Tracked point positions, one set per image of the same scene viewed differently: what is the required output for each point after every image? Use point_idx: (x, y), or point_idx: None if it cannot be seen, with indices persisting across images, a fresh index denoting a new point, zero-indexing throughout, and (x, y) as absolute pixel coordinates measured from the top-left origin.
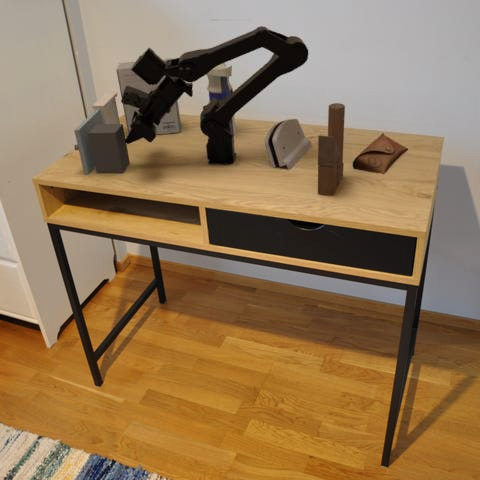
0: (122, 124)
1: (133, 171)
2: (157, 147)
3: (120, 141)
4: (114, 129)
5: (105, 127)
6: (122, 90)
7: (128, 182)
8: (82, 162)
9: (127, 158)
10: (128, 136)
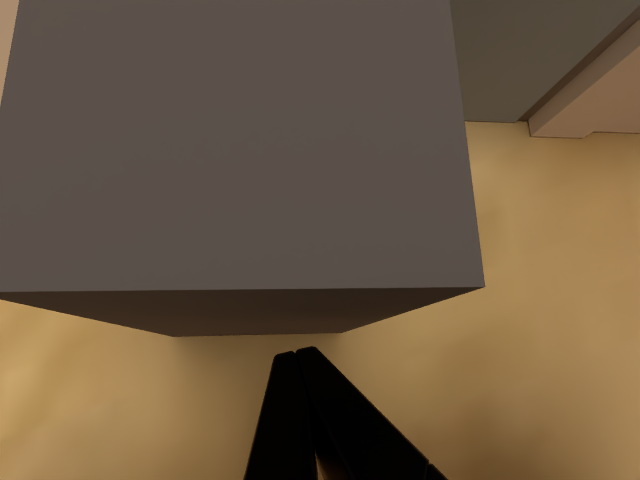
0: (463, 288)
1: (207, 409)
2: (634, 453)
3: (217, 315)
4: (188, 212)
5: (293, 23)
6: None
7: (4, 439)
8: None
9: (320, 330)
10: (256, 441)
